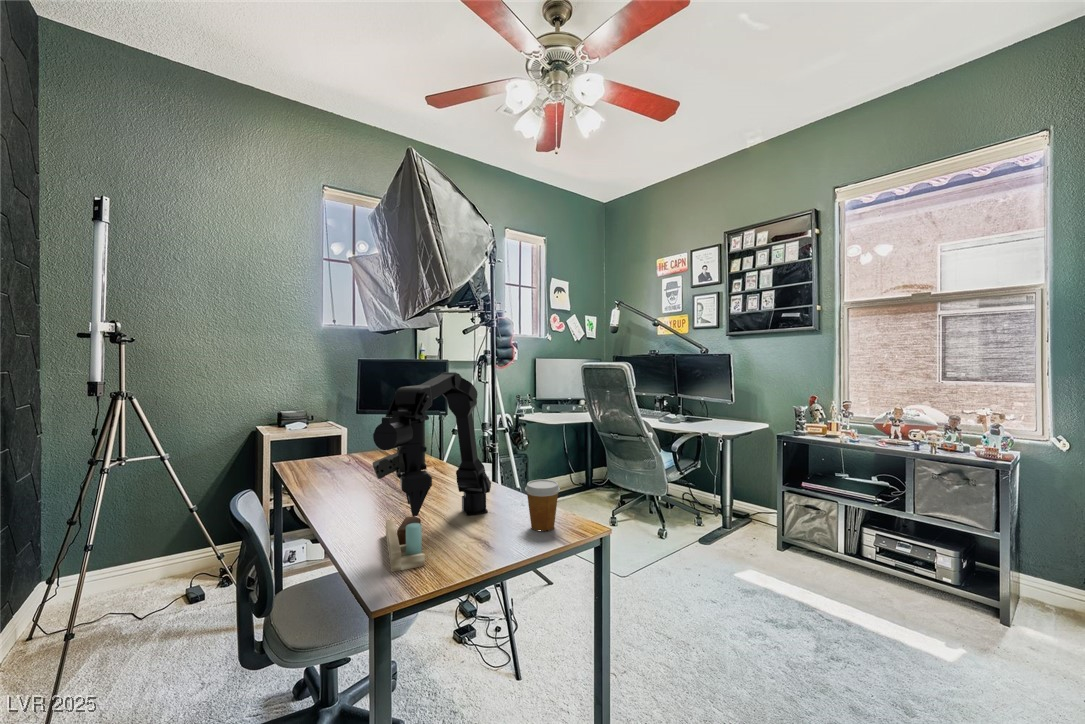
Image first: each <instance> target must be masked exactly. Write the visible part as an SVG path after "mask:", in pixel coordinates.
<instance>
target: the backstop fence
mask: <svg viewBox="0 0 1085 724" xmlns="http://www.w3.org/2000/svg"><path fill="white" fill-rule="evenodd" d="M385 537H386V543H387V550H388V556H389V564H390V569H391V572H392V573H393V572H398V571H403V570H410V569H415V568H419V567H425V559H426V557H425V552H422V553H420V554H415V555H409V556H406V544H404V545H399V540H398V536H397V528H396V523H395V519H394V518H391V519H386V520H385Z"/></svg>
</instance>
